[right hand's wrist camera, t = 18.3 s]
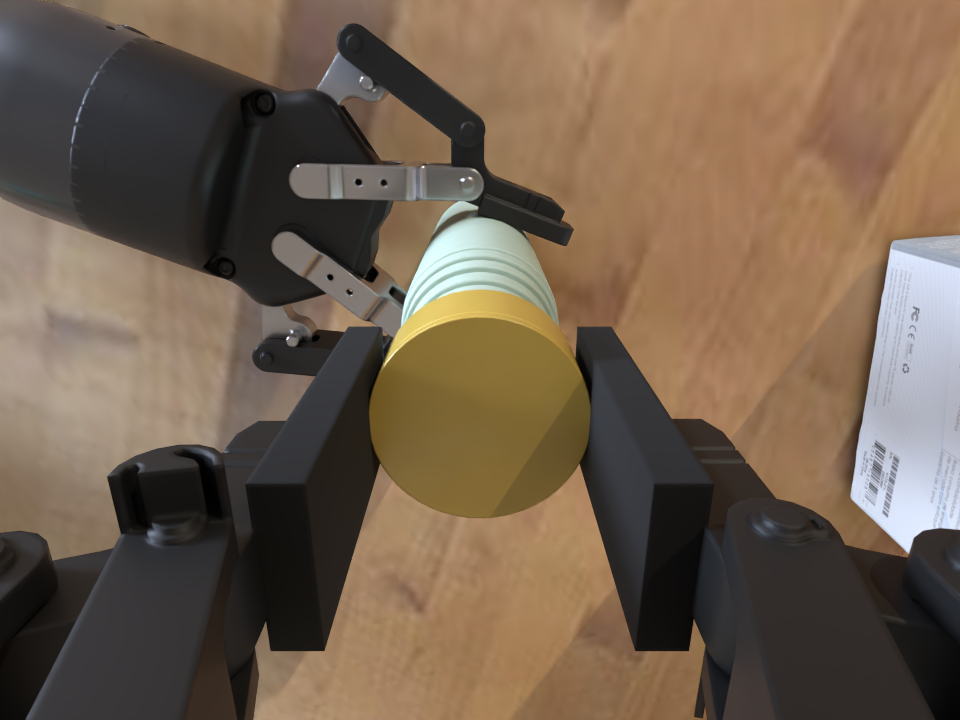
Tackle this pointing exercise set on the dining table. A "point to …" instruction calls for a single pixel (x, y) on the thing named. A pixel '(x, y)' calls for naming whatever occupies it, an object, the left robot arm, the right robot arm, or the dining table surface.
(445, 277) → the bottle
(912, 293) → the hard drive box
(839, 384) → the dining table surface
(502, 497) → the cap
